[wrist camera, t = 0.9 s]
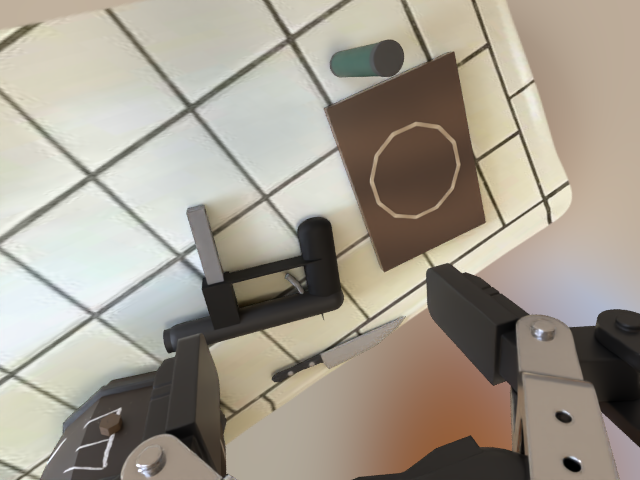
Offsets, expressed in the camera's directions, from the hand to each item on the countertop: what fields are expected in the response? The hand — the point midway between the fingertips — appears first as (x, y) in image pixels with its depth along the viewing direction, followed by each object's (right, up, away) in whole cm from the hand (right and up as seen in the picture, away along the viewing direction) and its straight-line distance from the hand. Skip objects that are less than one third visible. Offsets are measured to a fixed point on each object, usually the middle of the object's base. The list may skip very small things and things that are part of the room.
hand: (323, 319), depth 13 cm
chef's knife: (+3, -12, +36) cm, 38 cm away
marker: (+2, +19, +23) cm, 30 cm away
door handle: (-8, 0, +28) cm, 30 cm away
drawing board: (+10, +10, +29) cm, 32 cm away
